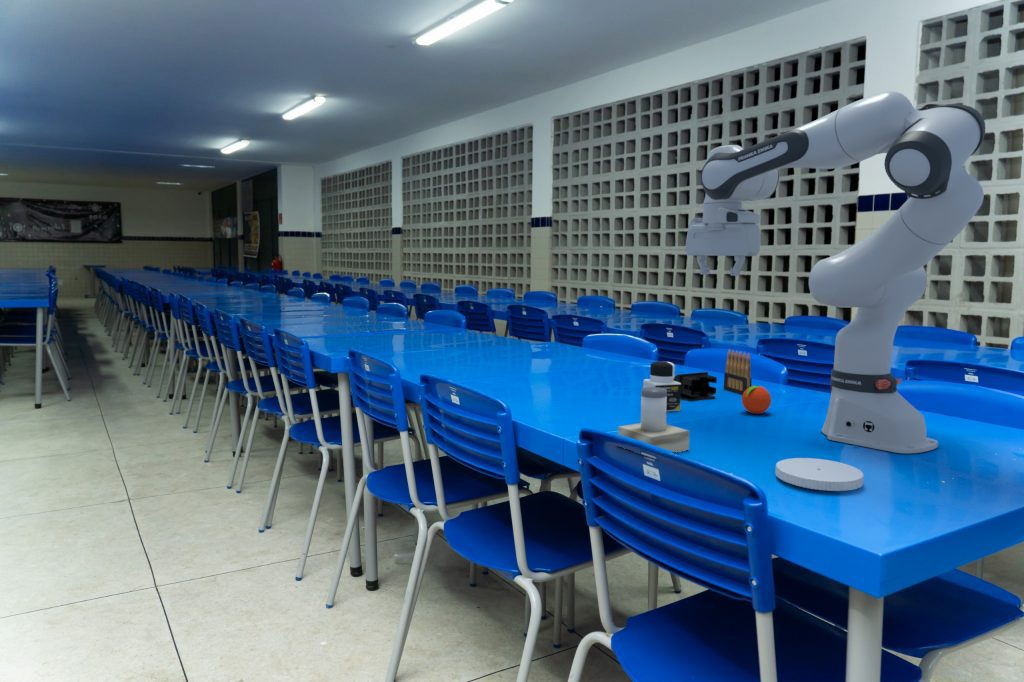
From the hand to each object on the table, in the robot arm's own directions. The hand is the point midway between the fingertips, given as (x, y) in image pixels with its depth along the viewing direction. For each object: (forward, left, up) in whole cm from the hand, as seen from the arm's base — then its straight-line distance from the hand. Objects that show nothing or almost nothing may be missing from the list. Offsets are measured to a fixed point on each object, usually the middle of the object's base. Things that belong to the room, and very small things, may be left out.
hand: (719, 275), depth 173 cm
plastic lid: (-46, +24, -35) cm, 62 cm away
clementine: (-4, -10, -34) cm, 36 cm away
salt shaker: (-15, +34, -30) cm, 48 cm away
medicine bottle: (+12, +6, -34) cm, 37 cm away
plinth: (-15, +34, -34) cm, 50 cm away
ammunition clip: (+17, -28, -34) cm, 47 cm away
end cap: (+18, -12, -34) cm, 41 cm away
